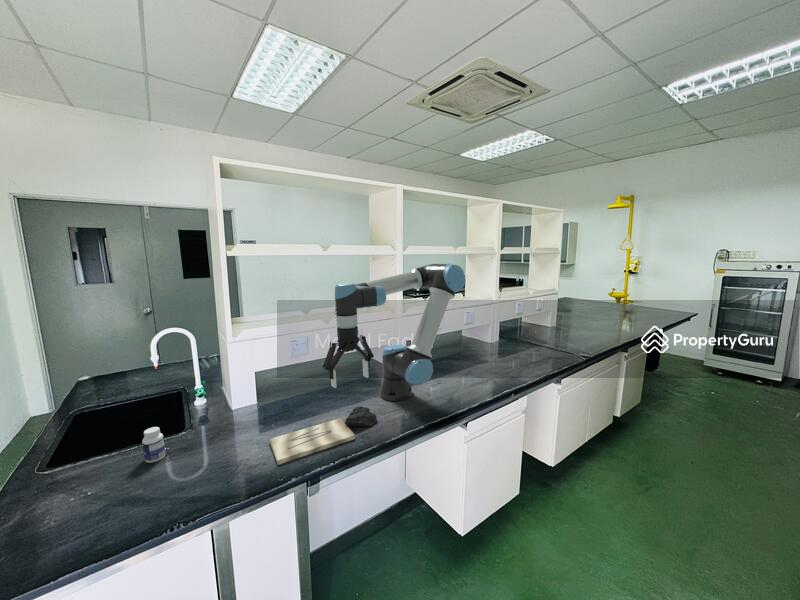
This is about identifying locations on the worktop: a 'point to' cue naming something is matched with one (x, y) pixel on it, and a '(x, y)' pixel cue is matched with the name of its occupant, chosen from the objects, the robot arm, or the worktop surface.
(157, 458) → the pill bottle
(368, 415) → the rock
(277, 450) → the board
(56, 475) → the worktop surface
